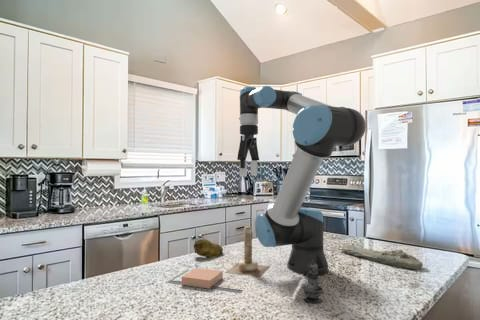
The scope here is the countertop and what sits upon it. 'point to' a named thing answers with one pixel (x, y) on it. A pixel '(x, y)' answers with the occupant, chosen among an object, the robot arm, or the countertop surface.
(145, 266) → the countertop surface
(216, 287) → the mat
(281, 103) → the robot arm
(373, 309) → the countertop surface
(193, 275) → the tile
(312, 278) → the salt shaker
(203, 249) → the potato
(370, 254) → the elongated rock
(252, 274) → the board
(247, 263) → the masher
